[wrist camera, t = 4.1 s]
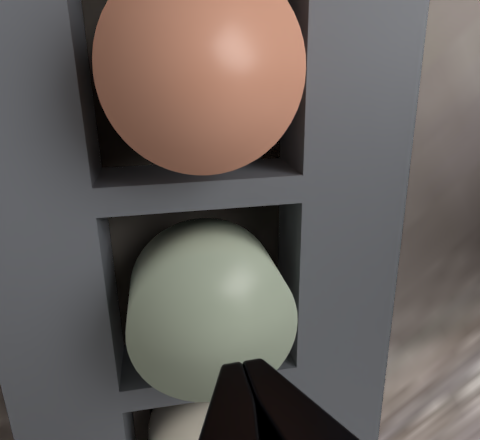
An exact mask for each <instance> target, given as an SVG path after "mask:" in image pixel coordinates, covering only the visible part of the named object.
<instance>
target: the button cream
mask: <svg viewBox="0 0 480 440" xmlns="http://www.w3.org/2000/svg"><path fill="white" fill-rule="evenodd" d="M209 404H210V402H194V403H187V404H180V405H173V406H166V407H160V408H154V409H153V411H152V413H151V416H150V419H149V426H148V440H198V439H199V436H200V433H201V429H202V426H203V423H204V420H205V417H206V413H207V410H208V407H209Z"/></svg>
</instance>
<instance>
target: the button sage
mask: <svg viewBox="0 0 480 440" xmlns="http://www.w3.org/2000/svg"><path fill="white" fill-rule="evenodd" d="M297 324H298V318H297V308H296V303H295V300H294V298H293V295H292V293H291V291H290V289H289V287H288V285H287V284H286V282H285V281H284V279H283V277H282V276H281V274H280V272H279V271H278V269H277V267H276V266H275V264H274V262H273V261H272V259H271V258H270V256H269V254H268V253H267V251H266V249H265V248H264V246H263V245H262V244H261V242H260V241H259V240H258V239H257V238H256V237H255V236H254V235H253V234H252V233H250V232H249V231H248V230H246V229H245V228H243V227H241V226H239V225H237V224H235V223H232V222H230V221H226V220H222V219H214V218H198V219H191V220H187V221H183V222H180V223H178V224H175V225H173V226H171V227H169V228H167V229H165V230H163V231H162V232H160V233H159V234H158V235H156V236H155V237H154V238H153V239H152V240H151V241H150V242H149V243H148V244H147V245H146V246H145V247H144V249H143V250H142V251H141V253H140V255H139V256H138V258H137V260H136V262H135V265H134V267H133V270H132V274H131V281H130V290H129V301H128V311H127V321H126V331H125V336H126V346H127V351H128V354H129V357H130V360H131V362H132V364H133V366H134V367H135V369H136V371H137V372H138V373H139V374H140V376H141V377H142V378H143V379H144V380H145V381H146V382H147V383H148V384H149V385H151V386H152V387H153V388H155V389H156V390H158V391H160V392H162V393H164V394H166V395H168V396H171V397H173V398H176V399H180V400H184V401H191V402H210V401H211V397H212V394H213V391H214V388H215V385H216V381H217V378H218V375H219V372H220V368H221V366H222V365H223V364H227V363H233V362H241V363H243V362H244V361H245V360H251V359H257V358H261V359H263V360H265V361H266V362H267V363H268V364H269V365H271V366H272V367H273V368H274V369H276V370H277V369H278V368H279V367H280V366H281V365H282V363H283V362H284V360H285V359H286V357H287V356H288V354H289V352H290V350H291V348H292V345H293V343H294V340H295V336H296V332H297Z"/></svg>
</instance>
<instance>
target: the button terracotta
mask: <svg viewBox="0 0 480 440" xmlns="http://www.w3.org/2000/svg"><path fill="white" fill-rule="evenodd" d="M92 67H93V77H94V82H95V87H96V91H97V94H98V97H99V100H100V103H101V105H102V108H103V110H104V112H105V114H106V116H107V118H108V119H109V121H110V123H111V124H112V126H113V127H114V129H115V130H116V132H117V133H118V134H119V135H120V136H121V138H122V139H123V140H124V141H125V142H126V143H127V144H128V145H129V146H130V147H131V148H132V149H133V150H134V151H136V152H137V153H138V154H140V155H141V156H143V157H144V158H145V159H147V160H149V161H151V162H152V163H154V164H156V165H158V166H160V167H163V168H165V169H168V170H171V171H174V172H178V173H182V174H189V175H215V174H222V173H226V172H230V171H233V170H236V169H238V168H241V167H243V166H246V165H248V164H249V163H251V162H253V161H255V160H256V159H258V158H259V157H261V156H262V155H263V154H265V153H266V152H267V151H268V150H269V149H270V148H271V147H273V146H274V145H275V144H276V143H277V141H278V140H279V139H280V138H281V137H282V135H283V134H284V133H285V131H286V130H287V128H288V127H289V125H290V124H291V122H292V120H293V118H294V116H295V114H296V112H297V110H298V107H299V104H300V101H301V98H302V94H303V89H304V85H305V76H306V53H305V46H304V40H303V36H302V33H301V29H300V26H299V23H298V21H297V18H296V16H295V13H294V11H293V10H292V8H291V6H290V4H289V2H288V1H287V0H108V1H107V3H106V5H105V7H104V8H103V10H102V12H101V15H100V18H99V21H98V24H97V26H96V31H95V36H94V41H93V51H92Z"/></svg>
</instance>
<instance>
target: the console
mask: <svg viewBox="0 0 480 440" xmlns="http://www.w3.org/2000/svg"><path fill="white" fill-rule="evenodd" d="M287 1H288V2H289V4H290V6H291V8H292V10H293V11H294V13H295V16H296V18H297V21H298V23H299V26H300V29H301V33H302V36H303V40H304V46H305V53H306V76H305V85H304V89H303V94H302V98H301V101H300V104H299V107H298V110H297V112H296V114H295V116H294V118H293V120H292V122H291V124H290V125H289V127H288V128H287V130H286V131H285V133H284V134H283V135H282V137H281V138H280V158H269V159H256V160H255V161H253V162H251V163H249V164H248V165H246V166H243V167H241V168H238V169H236V170H233V171H230V172H226V173H222V174H215V175H189V174H182V173H178V172H174V171H171V170H168V169H165V168H163V167H160V166H158V165H142V166H123V167H105V168H102V165H101V156H100V148H99V140H98V132H97V124H96V116H95V108H94V100H93V92H92V84H91V76H90V68H89V60H88V52H87V44H86V36H85V27H84V19H83V11H82V3H81V0H0V385H1V389H2V393H3V397H4V401H5V405H6V409H7V413H8V417H9V421H10V426H11V430H12V434H13V438H14V440H136V439H135V431H134V422H133V414H132V411H139V410H146V409H153V408H160V407H166V406H173V405H180V404H187V403H194V402H191V401H184V400H180V399H176V398H173V397H171V396H168V395H166V394H164V393H162V392H160V391H158V390H156V389H155V388H153V387H152V386H151V385H149V384H148V383H147V382H146V381H145V380H144V379H143V378H142V377H141V376H140V374H139V373H138V372H137V371H136V369H135V367H134V366H133V364H132V362H131V360H130V357H129V354H128V351H127V346H126V345H124V342H123V334H122V326H121V318H120V310H119V302H118V293H117V285H116V277H115V269H114V261H113V253H112V245H111V237H110V229H109V221H108V217H119V216H132V215H146V214H160V213H173V212H187V211H200V210H214V209H228V208H241V207H255V206H268V205H279V243H278V271H279V272H280V274H281V276H282V277H283V279H284V281H285V282H286V284H287V285H288V287H289V289H290V291H291V293H292V295H293V298H294V300H295V303H296V308H297V318H298V324H297V332H296V336H295V340H294V343H293V345H292V348H291V350H290V352H289V354H288V356H287V357H286V359H285V360H284V362H283V363H282V365H281V366H280V367H279V368H278V369H277V371H278V372H279V373H280V374H282V375H283V376H284V377H285V378H286V379H288V380H289V381H290V382H291V383H292V384H294V385H295V386H296V387H297V388H298V389H300V390H301V391H302V392H303V393H304V394H306V395H307V396H308V397H309V398H310V399H312V400H313V401H314V402H315V403H316V404H318V405H319V406H320V407H321V408H322V409H324V410H325V411H326V412H327V413H328V414H330V415H331V416H332V417H333V418H334V419H336V420H337V421H338V422H339V423H340V424H342V425H343V426H344V427H345V428H347V429H348V430H349V431H350V432H351V433H353V434H354V435H355V436H356V437H357V438H359V439H360V440H378V435H379V426H380V418H381V409H382V401H383V392H384V384H385V375H386V367H387V358H388V350H389V341H390V333H391V324H392V316H393V307H394V299H395V290H396V282H397V273H398V265H399V256H400V248H401V239H402V230H403V222H404V213H405V205H406V196H407V188H408V179H409V171H410V162H411V154H412V145H413V137H414V128H415V120H416V111H417V103H418V94H419V86H420V77H421V69H422V60H423V52H424V43H425V35H426V26H427V18H428V9H429V1H430V0H287Z"/></svg>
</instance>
